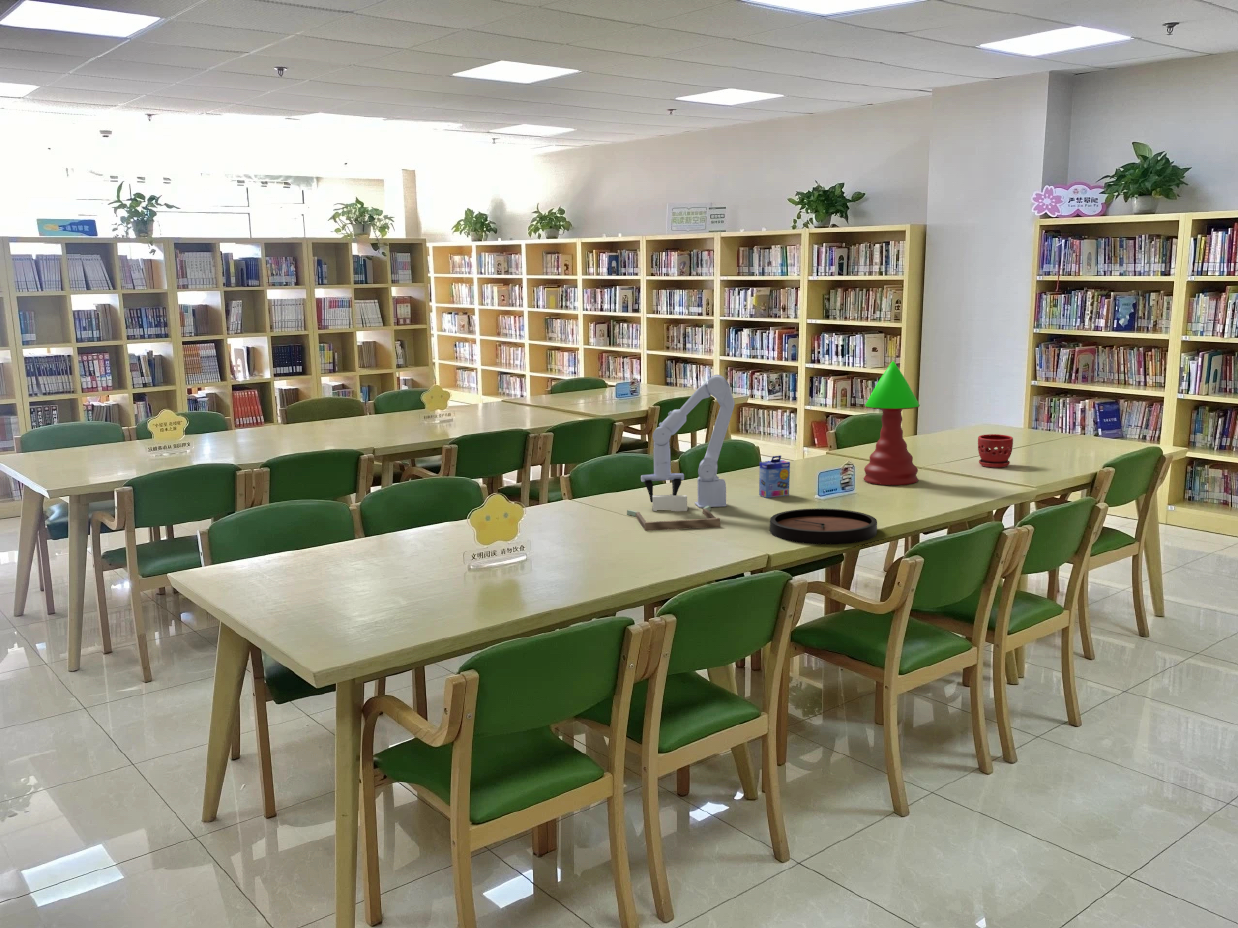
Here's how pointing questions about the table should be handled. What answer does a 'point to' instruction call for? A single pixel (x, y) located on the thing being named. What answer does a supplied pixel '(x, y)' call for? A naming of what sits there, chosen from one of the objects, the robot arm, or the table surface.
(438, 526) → the table surface
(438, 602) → the table surface
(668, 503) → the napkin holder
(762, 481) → the ink cartridge box
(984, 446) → the plant pot
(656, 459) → the robot arm
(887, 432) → the table lamp
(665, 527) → the napkin dock
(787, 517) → the wall clock
